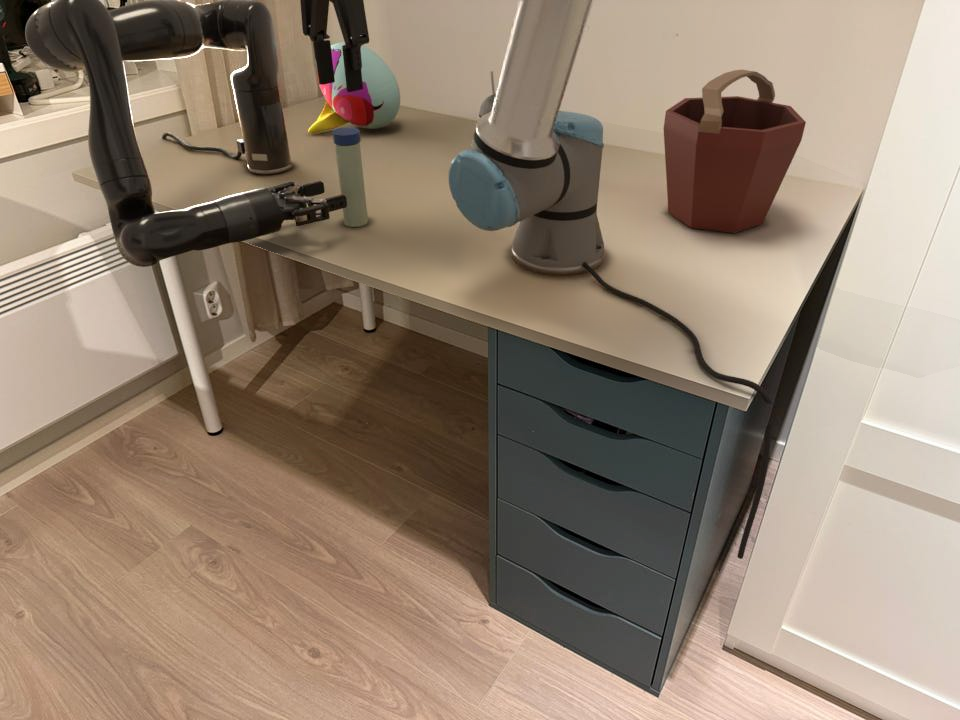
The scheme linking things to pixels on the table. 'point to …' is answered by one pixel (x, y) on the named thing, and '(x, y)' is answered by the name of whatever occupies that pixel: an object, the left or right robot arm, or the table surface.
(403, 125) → the table surface
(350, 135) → the lid
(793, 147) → the bucket
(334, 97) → the toy
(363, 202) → the bottle
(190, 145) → the left robot arm
